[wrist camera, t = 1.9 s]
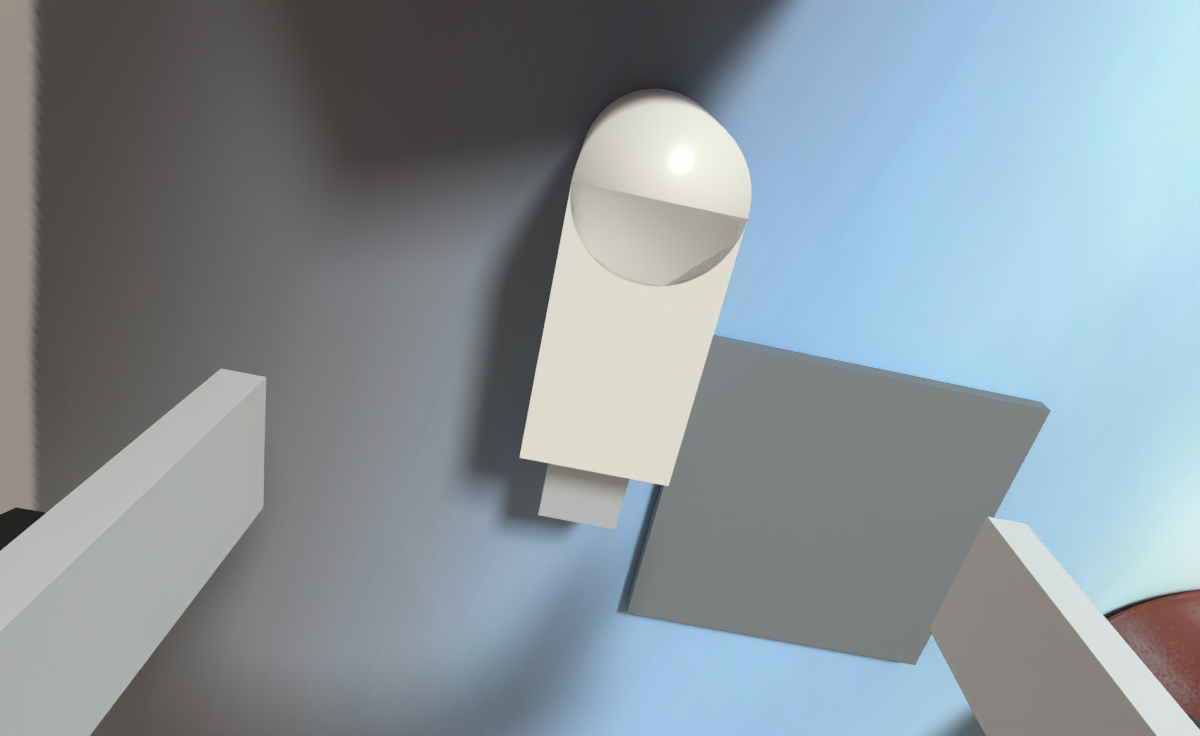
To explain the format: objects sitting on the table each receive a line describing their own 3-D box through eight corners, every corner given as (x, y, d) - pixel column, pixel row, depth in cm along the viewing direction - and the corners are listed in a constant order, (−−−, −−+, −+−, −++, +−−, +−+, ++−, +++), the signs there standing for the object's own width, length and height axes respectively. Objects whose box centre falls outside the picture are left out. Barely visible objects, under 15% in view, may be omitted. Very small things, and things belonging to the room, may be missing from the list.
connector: (596, 73, 21) (589, 85, 17) (742, 106, 22) (775, 127, 17) (522, 457, 27) (502, 545, 22) (639, 480, 27) (643, 571, 23)
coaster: (704, 333, 25) (706, 340, 24) (1041, 402, 25) (1050, 410, 25) (626, 602, 30) (626, 613, 29) (909, 653, 30) (914, 665, 30)
